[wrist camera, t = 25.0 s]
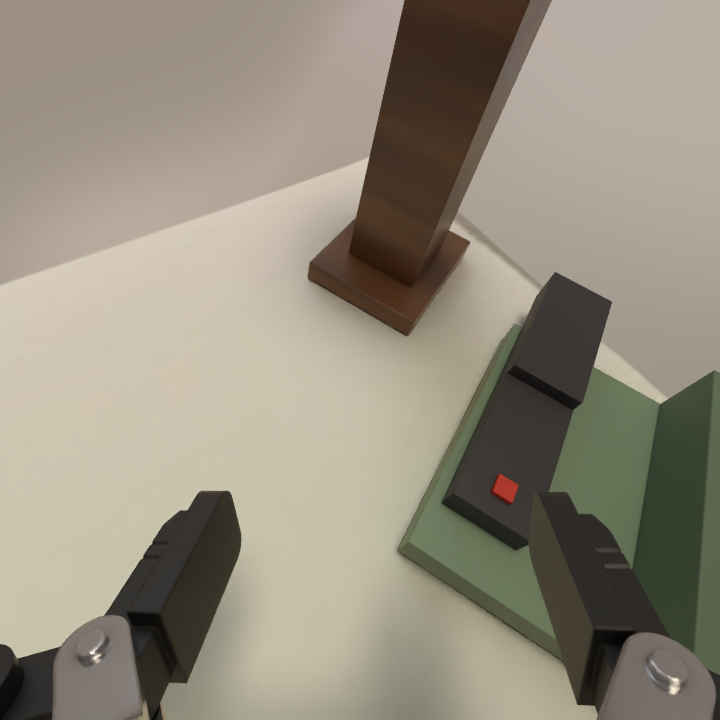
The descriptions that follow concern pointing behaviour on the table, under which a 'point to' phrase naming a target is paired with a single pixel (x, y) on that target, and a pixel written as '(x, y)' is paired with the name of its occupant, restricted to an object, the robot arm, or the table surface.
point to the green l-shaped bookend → (601, 508)
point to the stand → (427, 152)
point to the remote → (530, 412)
